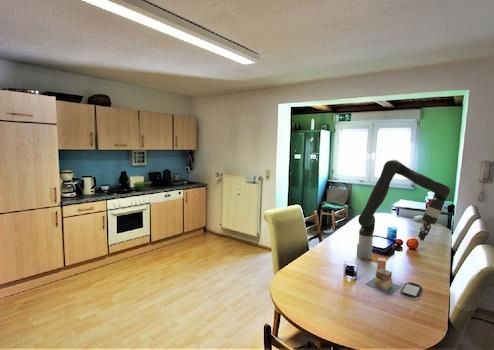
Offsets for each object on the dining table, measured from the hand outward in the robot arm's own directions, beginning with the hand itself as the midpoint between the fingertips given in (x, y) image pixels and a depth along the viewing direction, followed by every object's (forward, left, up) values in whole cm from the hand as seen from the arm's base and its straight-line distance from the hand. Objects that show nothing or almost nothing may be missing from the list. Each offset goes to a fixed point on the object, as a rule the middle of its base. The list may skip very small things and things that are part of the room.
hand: (420, 238), depth 172 cm
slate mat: (-7, -32, -24) cm, 41 cm away
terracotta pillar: (-15, -17, -24) cm, 33 cm away
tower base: (-7, -32, -23) cm, 40 cm away
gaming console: (+6, -26, -25) cm, 36 cm away
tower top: (-7, -32, -19) cm, 38 cm away
